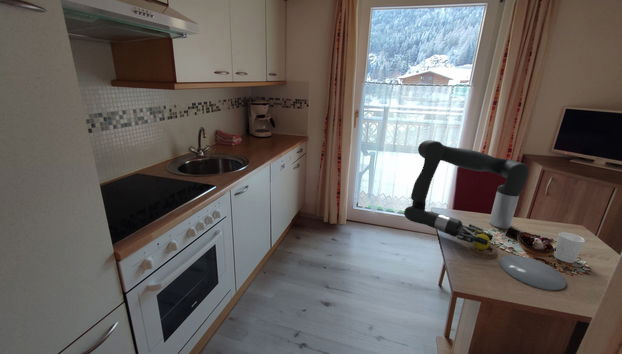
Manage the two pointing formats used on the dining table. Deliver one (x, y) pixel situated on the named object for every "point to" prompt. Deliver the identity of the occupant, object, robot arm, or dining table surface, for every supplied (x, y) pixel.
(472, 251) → the lemon holder
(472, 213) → the dining table surface
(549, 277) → the plate
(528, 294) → the dining table surface
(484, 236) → the lemon
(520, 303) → the dining table surface
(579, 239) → the white cup
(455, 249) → the dining table surface
